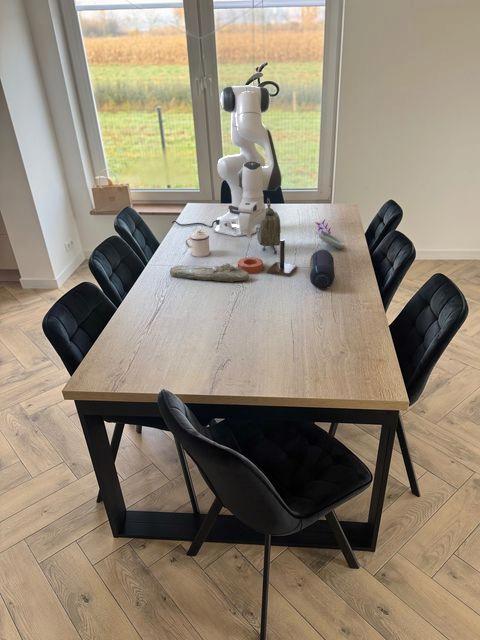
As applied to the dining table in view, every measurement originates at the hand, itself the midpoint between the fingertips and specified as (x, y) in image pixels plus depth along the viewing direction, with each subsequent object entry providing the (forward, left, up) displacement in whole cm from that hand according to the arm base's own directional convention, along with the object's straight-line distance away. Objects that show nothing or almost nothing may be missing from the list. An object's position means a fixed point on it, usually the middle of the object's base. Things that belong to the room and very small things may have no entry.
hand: (253, 234), depth 213 cm
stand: (+14, -1, -14) cm, 20 cm away
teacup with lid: (-31, +4, -14) cm, 35 cm away
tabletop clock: (-1, +20, -15) cm, 25 cm away
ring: (0, -4, -14) cm, 15 cm away
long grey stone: (-13, -19, -14) cm, 27 cm away
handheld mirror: (+23, +42, -14) cm, 50 cm away
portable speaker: (+33, -4, -14) cm, 36 cm away
